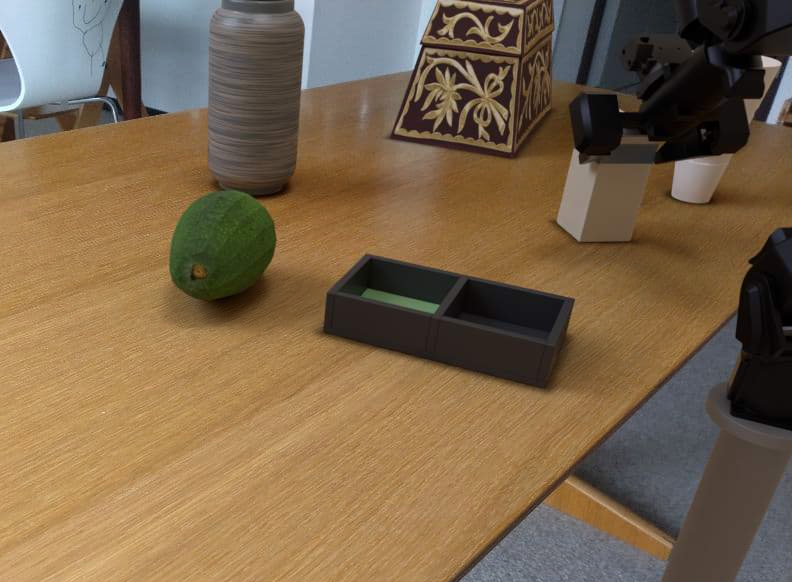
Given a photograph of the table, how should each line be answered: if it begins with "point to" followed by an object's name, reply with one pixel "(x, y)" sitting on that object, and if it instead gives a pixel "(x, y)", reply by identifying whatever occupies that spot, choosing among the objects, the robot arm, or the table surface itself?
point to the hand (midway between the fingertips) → (617, 160)
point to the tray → (450, 318)
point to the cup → (704, 174)
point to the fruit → (221, 245)
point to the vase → (254, 94)
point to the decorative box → (480, 76)
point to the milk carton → (607, 192)
